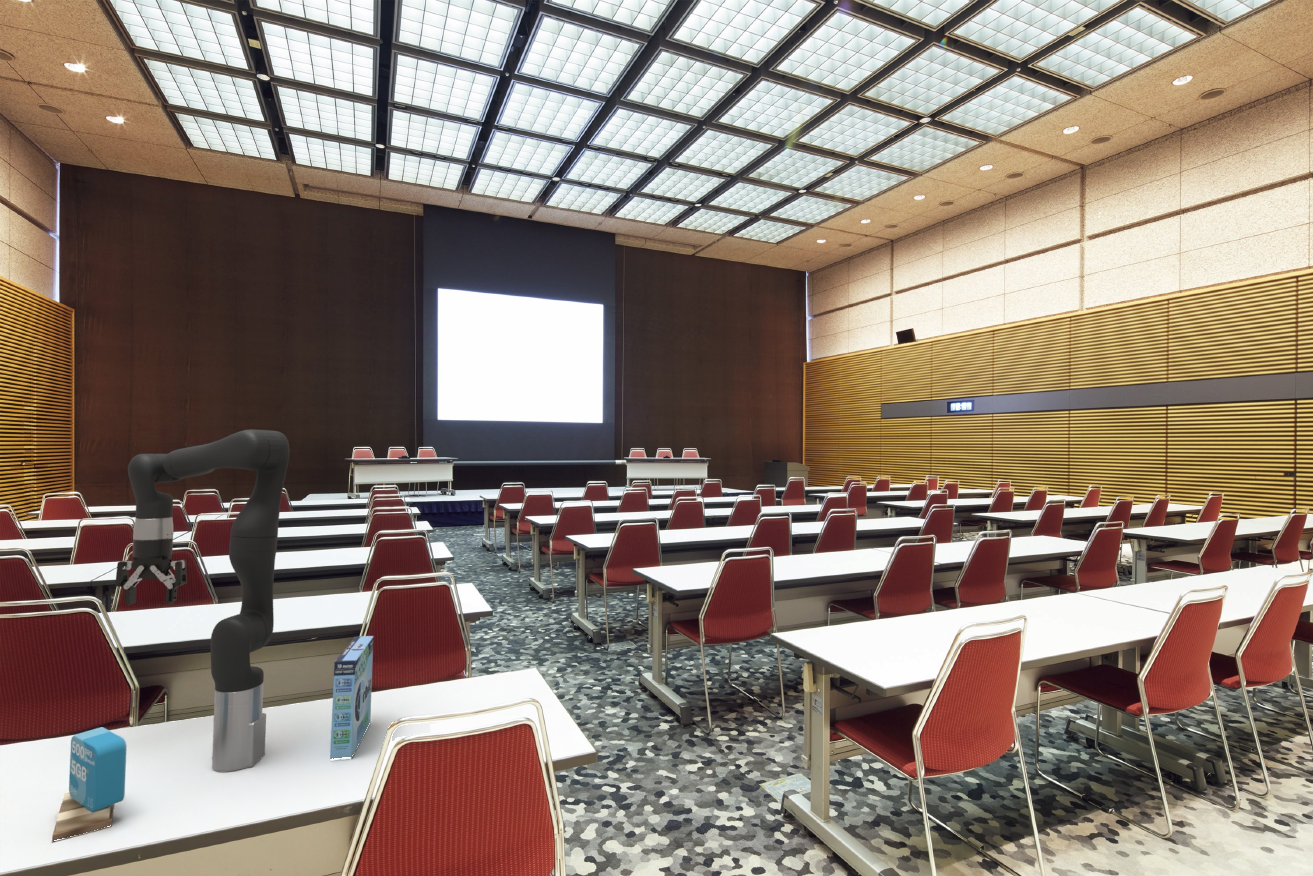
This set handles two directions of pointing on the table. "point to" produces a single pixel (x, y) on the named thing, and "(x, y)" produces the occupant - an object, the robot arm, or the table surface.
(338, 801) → the table surface
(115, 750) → the data package
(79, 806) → the display stand
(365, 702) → the blue product box
